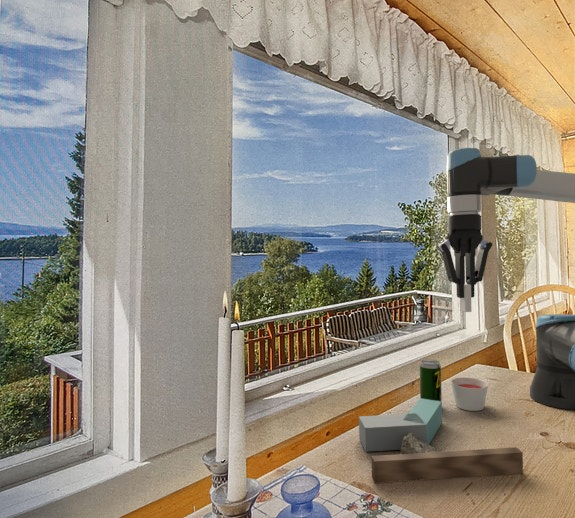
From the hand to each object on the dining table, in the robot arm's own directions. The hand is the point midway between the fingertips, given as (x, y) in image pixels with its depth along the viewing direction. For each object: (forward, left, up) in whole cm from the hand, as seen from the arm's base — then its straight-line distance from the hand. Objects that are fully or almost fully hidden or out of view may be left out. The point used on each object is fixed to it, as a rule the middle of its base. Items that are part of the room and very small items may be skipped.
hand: (465, 311), depth 105 cm
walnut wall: (+16, +25, -26) cm, 39 cm away
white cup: (-4, -7, -27) cm, 28 cm away
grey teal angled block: (+18, +7, -26) cm, 33 cm away
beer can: (+6, -8, -27) cm, 28 cm away
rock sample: (+19, +19, -27) cm, 38 cm away
